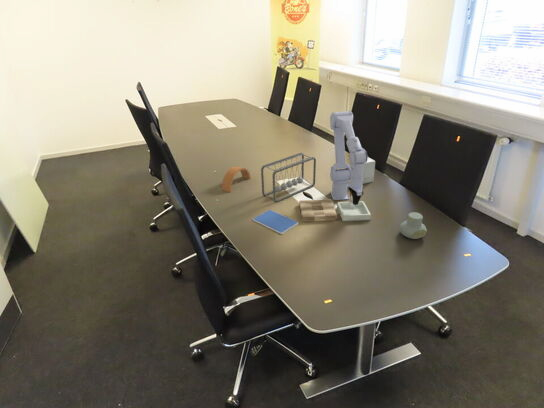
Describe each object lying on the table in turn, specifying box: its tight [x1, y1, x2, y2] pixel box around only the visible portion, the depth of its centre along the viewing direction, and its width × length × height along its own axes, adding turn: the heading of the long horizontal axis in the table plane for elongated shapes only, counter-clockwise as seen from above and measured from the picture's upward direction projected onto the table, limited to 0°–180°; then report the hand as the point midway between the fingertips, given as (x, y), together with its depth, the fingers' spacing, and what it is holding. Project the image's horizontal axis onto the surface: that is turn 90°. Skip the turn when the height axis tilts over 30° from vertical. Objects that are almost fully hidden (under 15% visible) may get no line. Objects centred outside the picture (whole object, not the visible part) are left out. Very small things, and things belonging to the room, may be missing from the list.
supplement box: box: [362, 156, 376, 185], centre depth 201 cm, size 7×7×13 cm
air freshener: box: [399, 211, 428, 240], centre depth 153 cm, size 11×8×10 cm
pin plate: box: [299, 198, 338, 222], centre depth 174 cm, size 16×16×2 cm
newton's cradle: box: [260, 152, 317, 203], centre depth 191 cm, size 30×10×18 cm, turn 129°
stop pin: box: [349, 190, 356, 210], centre depth 169 cm, size 4×4×9 cm
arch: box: [221, 166, 252, 193], centre depth 203 cm, size 6×20×10 cm, turn 148°
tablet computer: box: [252, 209, 299, 235], centre depth 168 cm, size 19×13×1 cm, turn 47°
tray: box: [336, 200, 372, 222], centre depth 172 cm, size 13×13×3 cm
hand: (354, 202), depth 169 cm, fingers closed on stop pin, 4 cm apart
